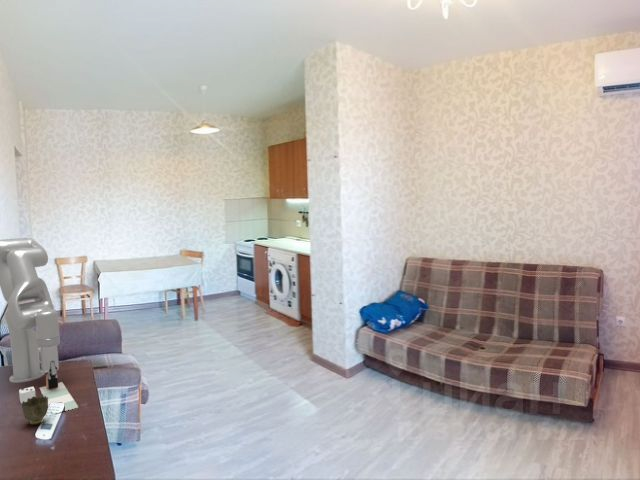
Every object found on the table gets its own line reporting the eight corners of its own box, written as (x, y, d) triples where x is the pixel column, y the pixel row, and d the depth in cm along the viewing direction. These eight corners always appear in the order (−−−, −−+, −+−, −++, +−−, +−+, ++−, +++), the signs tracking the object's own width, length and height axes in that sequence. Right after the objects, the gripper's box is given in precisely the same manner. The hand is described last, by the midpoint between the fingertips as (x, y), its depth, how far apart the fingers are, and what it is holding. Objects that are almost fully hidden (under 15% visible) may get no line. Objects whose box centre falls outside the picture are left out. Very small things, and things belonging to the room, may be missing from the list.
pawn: (45, 387, 174) (44, 371, 174) (57, 384, 177) (56, 369, 176) (47, 390, 171) (46, 374, 171) (59, 387, 174) (57, 371, 173)
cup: (37, 429, 142) (34, 406, 141) (17, 428, 143) (15, 404, 142) (55, 418, 149) (53, 395, 148) (36, 417, 150) (34, 394, 150)
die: (19, 401, 163) (18, 388, 163) (34, 397, 166) (33, 385, 166) (21, 405, 160) (20, 392, 159) (36, 401, 163) (34, 389, 162)
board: (39, 388, 174) (39, 387, 174) (62, 382, 179) (62, 382, 179) (52, 415, 151) (52, 414, 151) (78, 407, 156) (78, 407, 156)
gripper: (34, 338, 176) (38, 382, 178) (40, 348, 164) (44, 395, 165) (55, 334, 181) (59, 377, 183) (63, 344, 168) (67, 390, 170)
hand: (52, 385), depth 174 cm, fingers closed on pawn, 4 cm apart
